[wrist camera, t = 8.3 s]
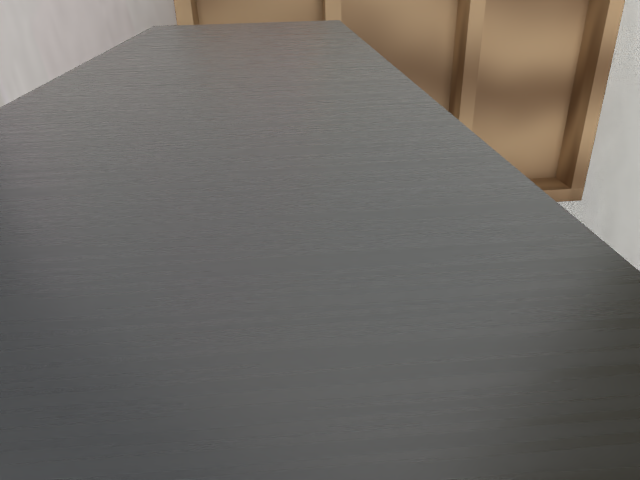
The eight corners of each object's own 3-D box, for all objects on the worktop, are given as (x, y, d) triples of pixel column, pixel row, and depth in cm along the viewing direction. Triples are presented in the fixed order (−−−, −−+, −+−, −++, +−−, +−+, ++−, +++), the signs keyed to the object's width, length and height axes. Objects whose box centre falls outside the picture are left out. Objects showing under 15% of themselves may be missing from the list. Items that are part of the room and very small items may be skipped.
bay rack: (558, 182, 35) (583, 202, 32) (210, 201, 34) (204, 223, 31) (608, -78, 28) (646, -83, 25) (174, -67, 27) (162, -71, 24)
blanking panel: (341, 371, 16) (471, 1139, 6) (209, 381, 16) (87, 1202, 5) (339, 20, 12) (1076, 631, 1) (154, 26, 11) (-1561, 934, 1)
